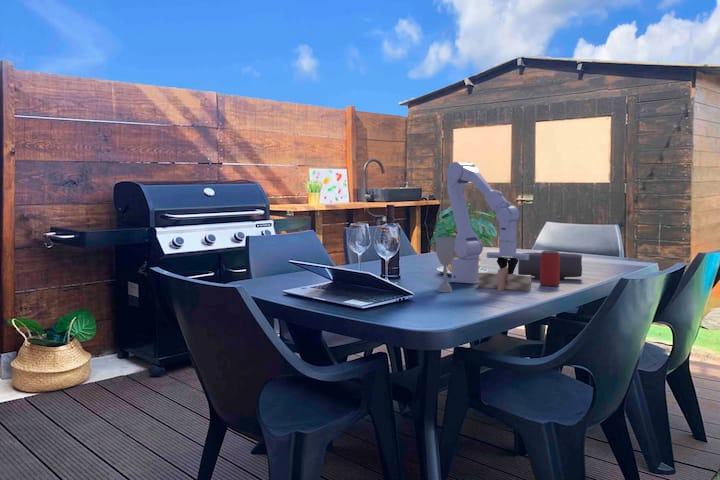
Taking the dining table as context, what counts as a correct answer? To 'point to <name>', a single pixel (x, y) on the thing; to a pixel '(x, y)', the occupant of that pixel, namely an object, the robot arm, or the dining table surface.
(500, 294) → the dining table surface
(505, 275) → the tan thin board
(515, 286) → the slotted rail
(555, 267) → the beer can
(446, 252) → the chalice
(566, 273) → the bluetooth speaker
